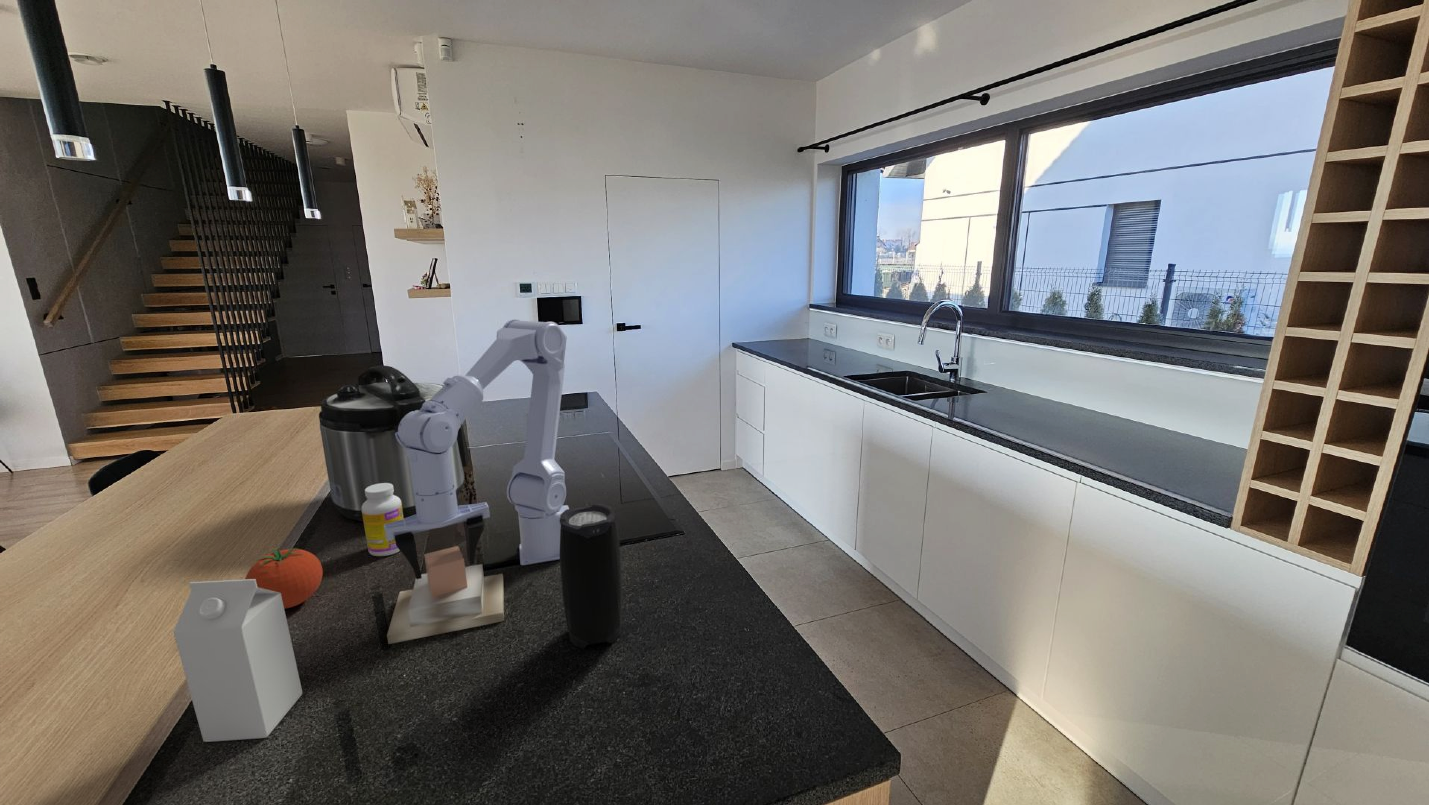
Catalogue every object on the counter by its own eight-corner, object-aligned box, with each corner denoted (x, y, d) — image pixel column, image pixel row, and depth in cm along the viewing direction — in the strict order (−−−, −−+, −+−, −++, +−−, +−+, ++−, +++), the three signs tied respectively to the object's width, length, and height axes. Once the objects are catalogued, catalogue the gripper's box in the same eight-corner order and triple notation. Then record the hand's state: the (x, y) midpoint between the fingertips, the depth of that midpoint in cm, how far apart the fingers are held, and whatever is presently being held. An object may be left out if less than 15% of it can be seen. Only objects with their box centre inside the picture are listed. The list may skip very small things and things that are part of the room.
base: (503, 581, 101) (500, 558, 100) (503, 621, 90) (501, 595, 89) (401, 599, 96) (397, 575, 95) (388, 644, 85) (383, 617, 84)
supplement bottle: (390, 559, 108) (380, 495, 105) (360, 556, 110) (349, 493, 107) (415, 542, 115) (406, 482, 112) (386, 539, 116) (376, 479, 113)
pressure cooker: (458, 522, 123) (439, 377, 115) (309, 536, 118) (279, 384, 110) (481, 472, 152) (467, 352, 144) (362, 481, 146) (341, 357, 138)
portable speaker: (614, 609, 93) (608, 496, 88) (632, 643, 85) (627, 521, 80) (560, 623, 89) (551, 507, 84) (573, 661, 81) (564, 534, 76)
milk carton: (245, 698, 75) (212, 566, 70) (303, 694, 75) (275, 563, 70) (203, 743, 68) (163, 600, 63) (267, 739, 68) (233, 597, 64)
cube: (461, 573, 95) (458, 545, 94) (467, 587, 91) (463, 558, 90) (428, 582, 93) (424, 554, 91) (432, 597, 88) (428, 568, 87)
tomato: (319, 580, 102) (309, 528, 99) (334, 604, 95) (323, 549, 92) (246, 604, 95) (233, 549, 92) (255, 632, 88) (242, 573, 85)
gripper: (479, 470, 95) (487, 545, 98) (377, 490, 87) (391, 570, 90) (488, 484, 89) (497, 563, 92) (381, 506, 81) (395, 592, 85)
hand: (445, 568), depth 91 cm, fingers open, 7 cm apart
